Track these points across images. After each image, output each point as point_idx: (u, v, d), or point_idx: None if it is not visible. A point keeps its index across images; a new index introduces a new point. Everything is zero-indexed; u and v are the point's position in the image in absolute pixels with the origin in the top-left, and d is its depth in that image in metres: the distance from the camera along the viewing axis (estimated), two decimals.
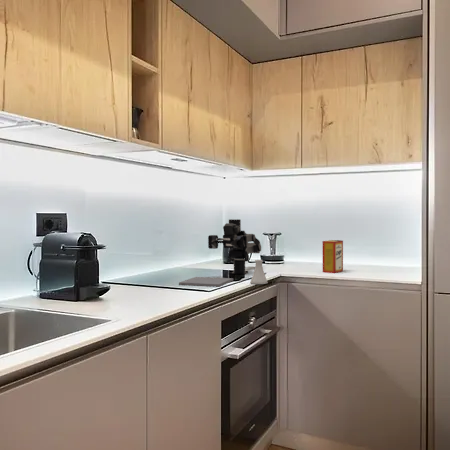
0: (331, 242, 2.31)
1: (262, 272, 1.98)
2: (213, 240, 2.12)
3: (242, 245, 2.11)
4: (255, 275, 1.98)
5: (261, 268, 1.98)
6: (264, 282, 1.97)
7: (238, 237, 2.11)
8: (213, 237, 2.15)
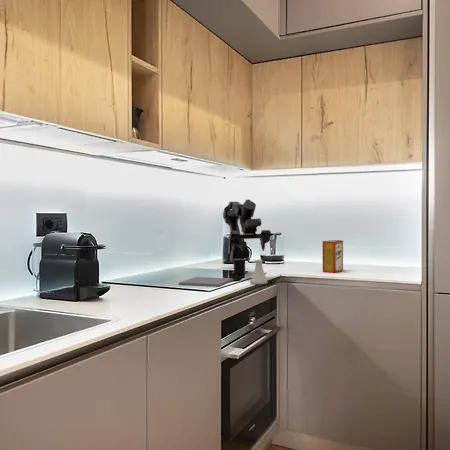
0: (331, 242, 2.31)
1: (262, 272, 1.98)
2: (242, 244, 2.06)
3: (266, 241, 2.13)
4: (255, 275, 1.98)
5: (261, 268, 1.98)
6: (264, 282, 1.97)
7: (264, 236, 2.10)
8: (238, 237, 2.07)
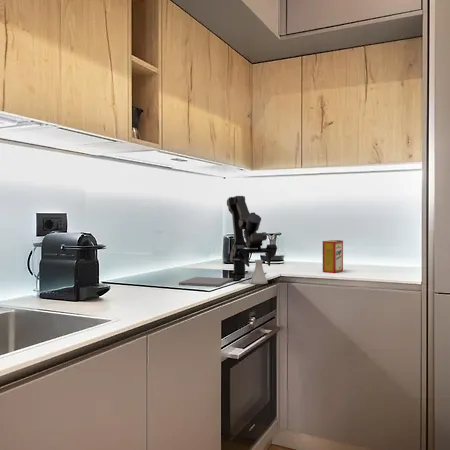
0: (331, 242, 2.31)
1: (262, 272, 1.98)
2: (247, 259, 1.99)
3: (272, 255, 2.06)
4: (255, 275, 1.98)
5: (261, 268, 1.98)
6: (264, 282, 1.97)
7: (270, 251, 2.02)
8: (243, 252, 2.00)
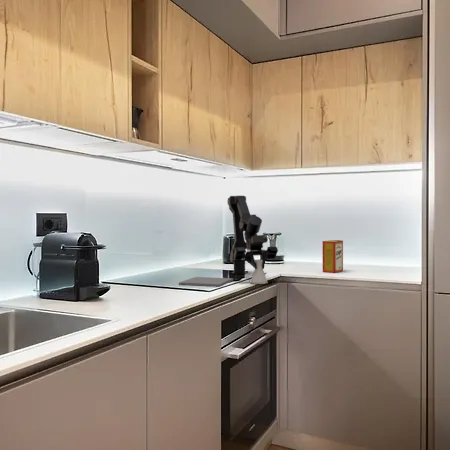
0: (331, 242, 2.31)
1: (262, 272, 1.98)
2: (254, 261, 1.99)
3: (266, 258, 2.04)
4: (255, 275, 1.98)
5: (261, 268, 1.98)
6: (264, 282, 1.97)
7: (264, 253, 2.01)
8: (250, 254, 2.00)
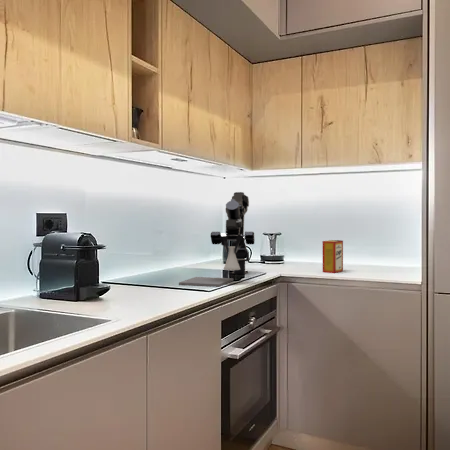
0: (331, 242, 2.31)
1: (234, 258, 1.97)
2: (226, 246, 1.99)
3: (243, 243, 2.02)
4: (226, 261, 1.98)
5: (233, 254, 1.97)
6: (234, 268, 1.95)
7: (238, 238, 1.99)
8: (224, 238, 2.00)
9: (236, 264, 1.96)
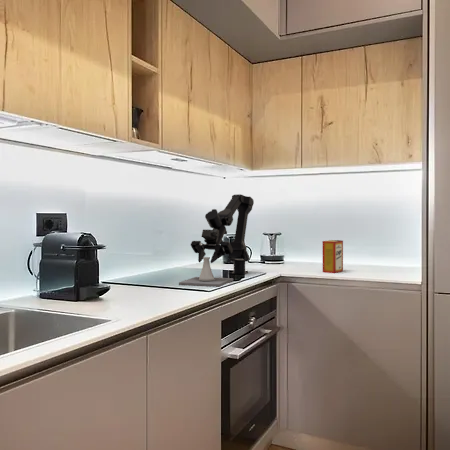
0: (331, 242, 2.31)
1: (207, 269, 2.00)
2: (199, 255, 2.03)
3: (223, 253, 2.03)
4: (201, 272, 2.02)
5: (206, 265, 2.00)
6: (205, 279, 1.99)
7: (216, 248, 2.01)
8: (198, 247, 2.05)
9: (208, 275, 1.99)
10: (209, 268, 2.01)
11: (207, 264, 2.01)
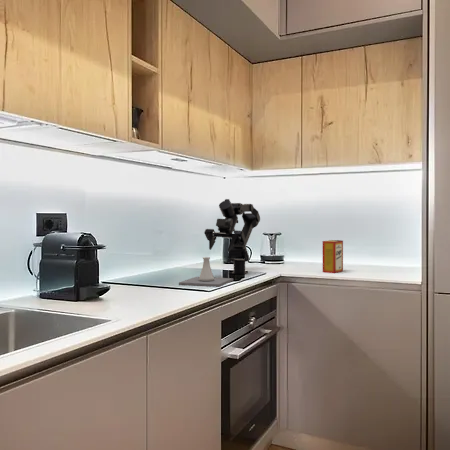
0: (331, 242, 2.31)
1: (207, 269, 2.00)
2: (210, 242, 2.13)
3: (239, 241, 2.12)
4: (201, 272, 2.02)
5: (206, 265, 2.00)
6: (205, 279, 1.99)
7: (233, 236, 2.10)
8: (209, 235, 2.15)
9: (208, 275, 1.99)
10: (209, 268, 2.01)
11: (207, 264, 2.01)
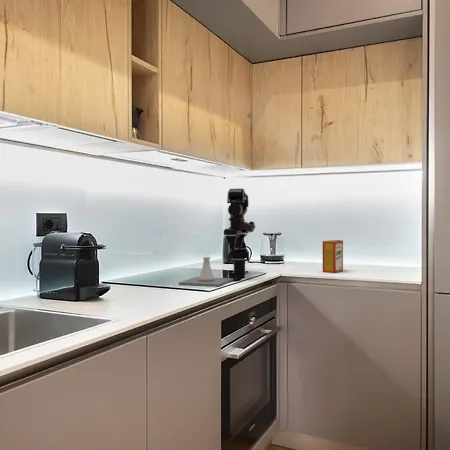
0: (331, 242, 2.31)
1: (207, 269, 2.00)
2: (235, 244, 2.10)
3: None
4: (201, 272, 2.02)
5: (206, 265, 2.00)
6: (205, 279, 1.99)
7: None
8: (236, 237, 2.08)
9: (208, 275, 1.99)
10: (209, 268, 2.01)
11: (207, 264, 2.01)
